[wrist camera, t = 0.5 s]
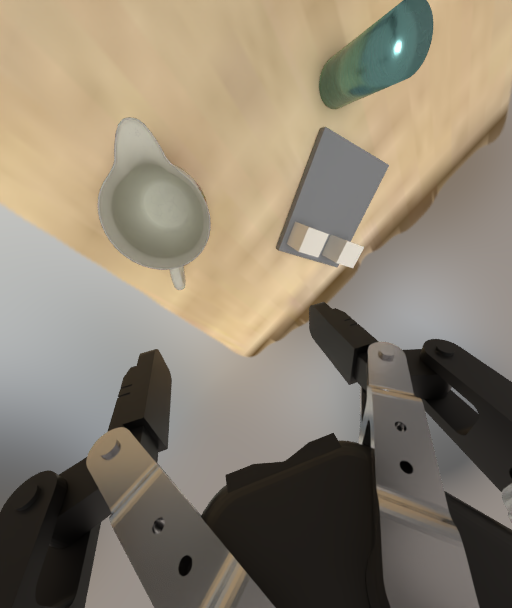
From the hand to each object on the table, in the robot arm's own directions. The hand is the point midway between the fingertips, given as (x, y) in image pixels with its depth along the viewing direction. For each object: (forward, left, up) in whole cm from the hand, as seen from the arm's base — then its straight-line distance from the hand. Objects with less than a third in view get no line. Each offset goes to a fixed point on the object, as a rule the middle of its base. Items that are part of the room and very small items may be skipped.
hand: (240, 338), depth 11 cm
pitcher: (-1, -5, -30) cm, 30 cm away
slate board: (-10, +21, -29) cm, 37 cm away
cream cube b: (-4, +17, -28) cm, 33 cm away
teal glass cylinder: (-25, +14, -29) cm, 41 cm away
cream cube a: (-4, +25, -28) cm, 37 cm away
